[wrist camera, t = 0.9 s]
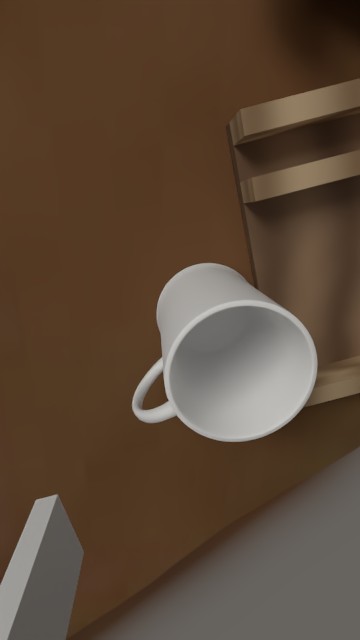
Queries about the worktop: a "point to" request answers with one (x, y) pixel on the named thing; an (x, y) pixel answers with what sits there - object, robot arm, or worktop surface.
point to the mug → (228, 357)
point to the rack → (306, 219)
